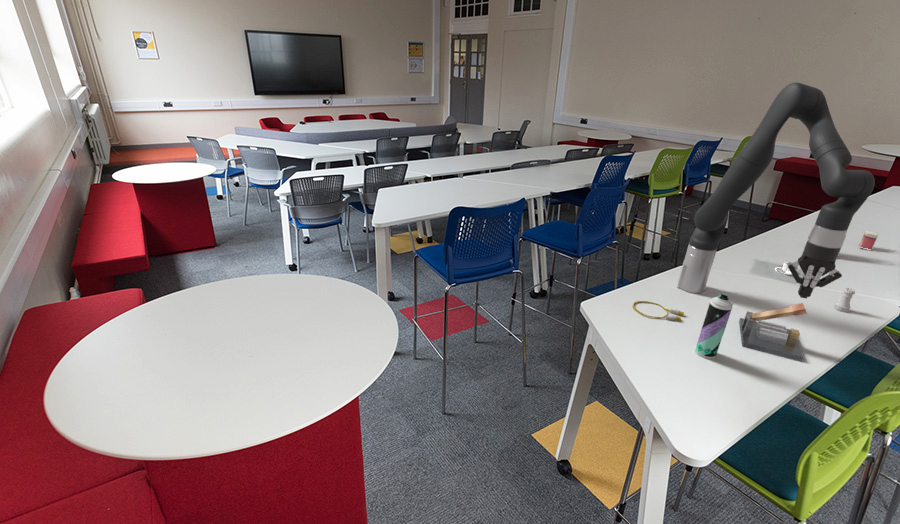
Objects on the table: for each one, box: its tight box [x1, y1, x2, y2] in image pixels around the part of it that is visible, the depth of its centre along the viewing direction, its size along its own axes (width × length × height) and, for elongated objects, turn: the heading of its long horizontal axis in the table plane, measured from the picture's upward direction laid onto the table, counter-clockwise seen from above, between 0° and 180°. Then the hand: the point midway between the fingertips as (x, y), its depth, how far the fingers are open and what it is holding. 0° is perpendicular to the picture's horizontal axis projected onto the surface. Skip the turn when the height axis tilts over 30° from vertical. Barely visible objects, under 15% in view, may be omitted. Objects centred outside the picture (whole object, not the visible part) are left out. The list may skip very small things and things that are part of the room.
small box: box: [858, 230, 879, 250], centre depth 211 cm, size 5×4×8 cm
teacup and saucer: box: [774, 261, 793, 277], centre depth 185 cm, size 9×8×4 cm
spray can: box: [694, 292, 734, 360], centre depth 127 cm, size 6×6×20 cm
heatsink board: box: [738, 311, 804, 362], centre depth 137 cm, size 15×16×7 cm
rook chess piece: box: [833, 287, 856, 313], centre depth 156 cm, size 4×4×8 cm
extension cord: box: [632, 300, 685, 322], centre depth 152 cm, size 12×16×2 cm
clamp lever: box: [745, 302, 808, 322], centre depth 135 cm, size 15×4×2 cm, turn 62°
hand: (803, 296), depth 130 cm, fingers closed
